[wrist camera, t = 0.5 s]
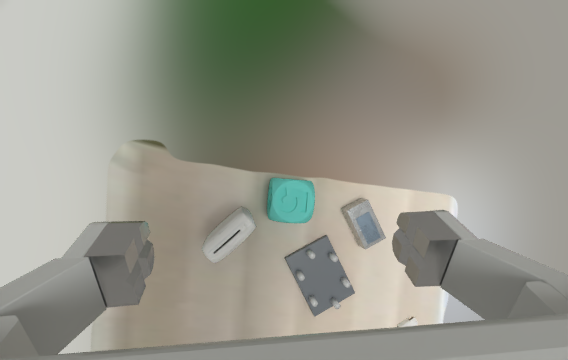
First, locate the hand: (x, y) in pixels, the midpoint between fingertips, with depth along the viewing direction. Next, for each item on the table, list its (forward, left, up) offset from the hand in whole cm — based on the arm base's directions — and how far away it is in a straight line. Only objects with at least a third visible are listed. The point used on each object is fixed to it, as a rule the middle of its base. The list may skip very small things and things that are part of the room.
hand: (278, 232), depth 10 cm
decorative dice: (-7, -6, -52) cm, 52 cm away
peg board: (-25, -5, -51) cm, 57 cm away
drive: (-19, -18, -52) cm, 58 cm away
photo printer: (-7, +7, -51) cm, 52 cm away
